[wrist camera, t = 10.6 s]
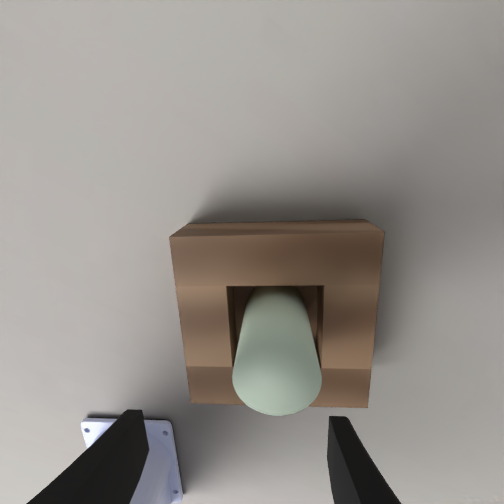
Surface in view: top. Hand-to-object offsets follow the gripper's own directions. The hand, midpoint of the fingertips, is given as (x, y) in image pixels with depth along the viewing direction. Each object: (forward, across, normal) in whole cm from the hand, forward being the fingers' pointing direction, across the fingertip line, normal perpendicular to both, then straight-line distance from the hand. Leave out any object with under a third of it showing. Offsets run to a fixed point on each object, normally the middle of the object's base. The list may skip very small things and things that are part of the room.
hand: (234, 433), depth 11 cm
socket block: (+10, -2, 0) cm, 10 cm away
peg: (+9, -2, 0) cm, 9 cm away
